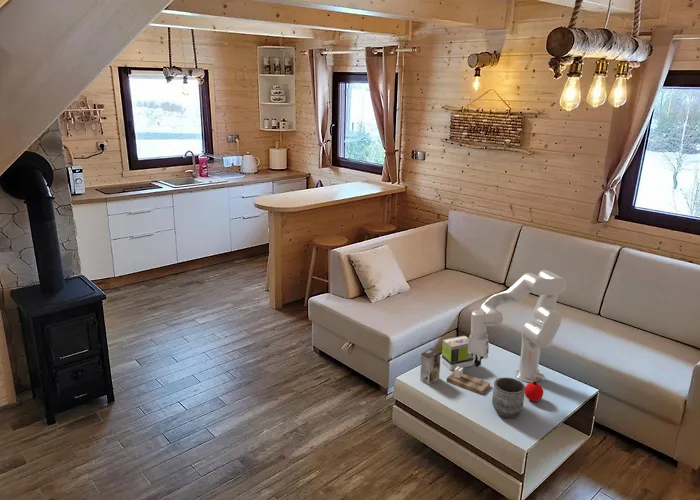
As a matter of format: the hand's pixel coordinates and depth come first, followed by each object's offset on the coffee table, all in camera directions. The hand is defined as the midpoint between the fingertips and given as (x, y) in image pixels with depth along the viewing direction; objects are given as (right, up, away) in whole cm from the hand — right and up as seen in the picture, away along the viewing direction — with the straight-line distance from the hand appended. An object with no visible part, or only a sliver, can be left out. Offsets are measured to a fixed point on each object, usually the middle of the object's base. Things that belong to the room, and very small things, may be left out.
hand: (477, 365), depth 270 cm
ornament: (+26, -15, -9) cm, 31 cm away
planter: (+9, -18, -19) cm, 28 cm away
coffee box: (-24, -9, +9) cm, 27 cm away
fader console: (-4, -11, +5) cm, 12 cm away
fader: (-8, -7, +8) cm, 13 cm away
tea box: (-6, -5, +24) cm, 26 cm away
